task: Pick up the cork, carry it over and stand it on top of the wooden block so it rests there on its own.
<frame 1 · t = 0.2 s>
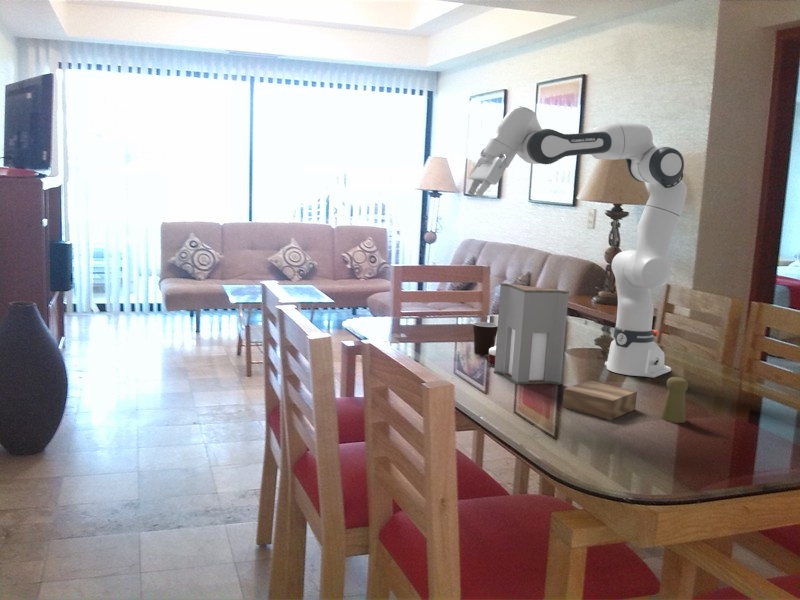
hand: (474, 194, 230), 54 cm above the table, tool tilted 30°, fingers open, 8 cm apart
wooden block: (598, 408, 204), on the table
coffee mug: (485, 352, 265), on the table
cabinet: (521, 381, 229), on the table
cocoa: (498, 365, 248), on the table
cork: (673, 419, 198), on the table
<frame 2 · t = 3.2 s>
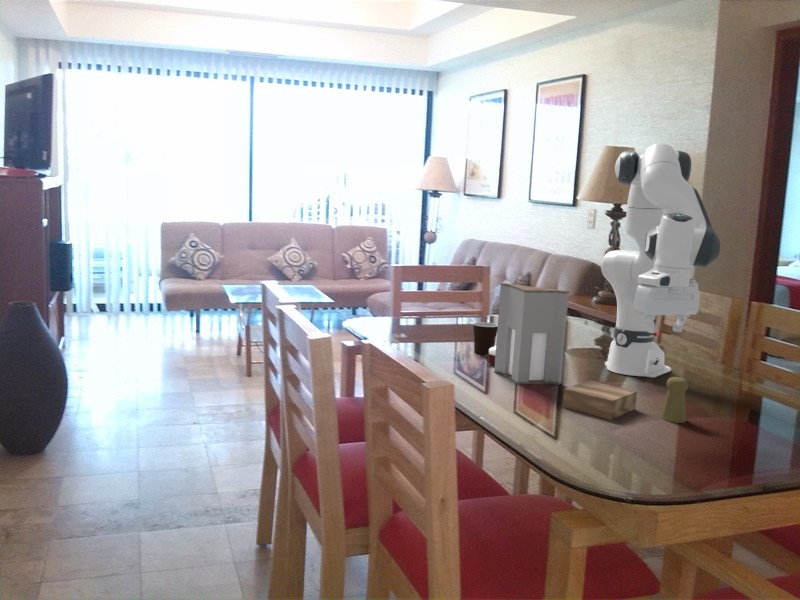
hand: (664, 332, 194), 23 cm above the table, tool pointing down, fingers open, 8 cm apart
nothing on the table moved.
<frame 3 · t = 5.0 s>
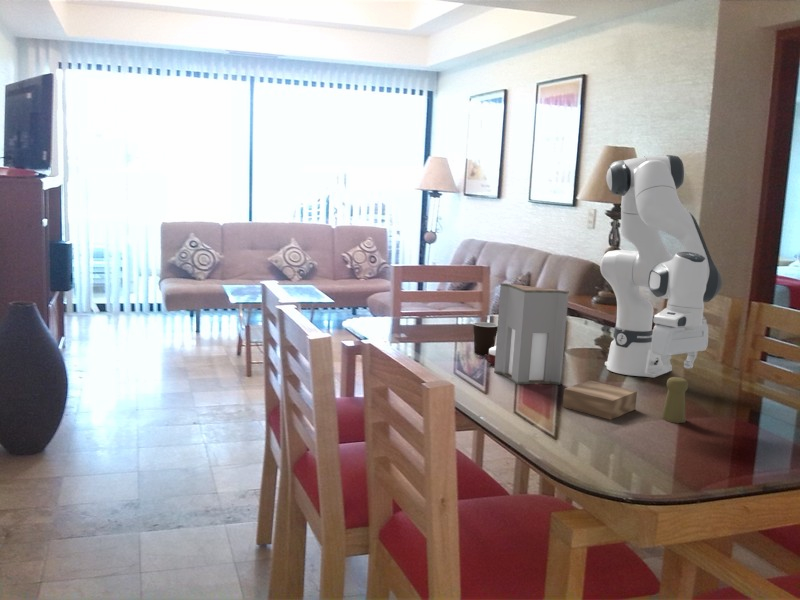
hand: (677, 369, 196), 13 cm above the table, tool pointing down, fingers open, 8 cm apart
nothing on the table moved.
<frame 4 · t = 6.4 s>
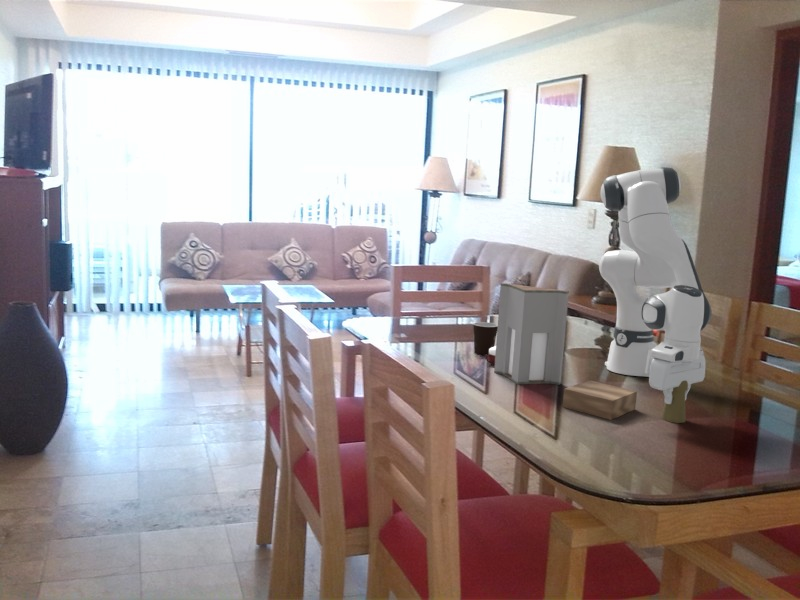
hand: (675, 401, 197), 5 cm above the table, tool pointing down, fingers closed on cork, 4 cm apart
cork: (673, 419, 198), on the table, touching gripper
everything else where it was.
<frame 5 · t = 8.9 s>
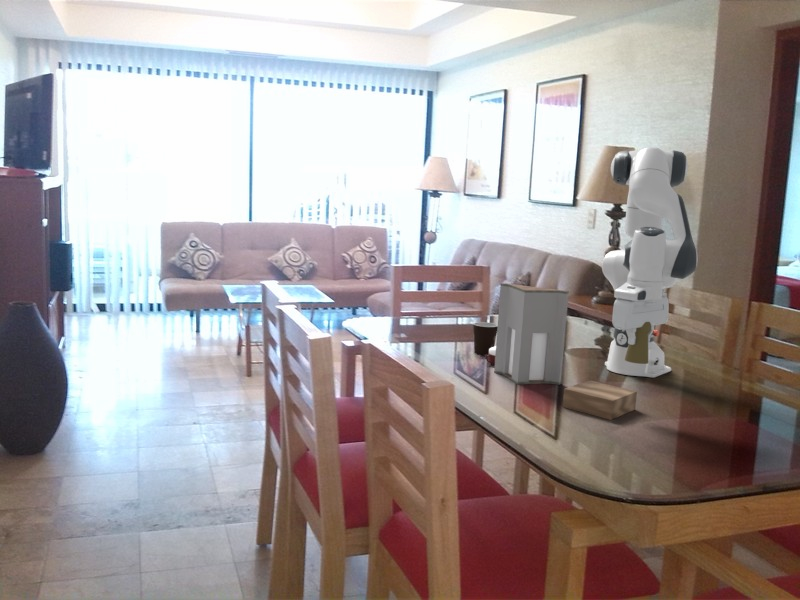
hand: (638, 343, 199), 19 cm above the table, tool pointing down, fingers closed on cork, 4 cm apart
cork: (636, 361, 199), point 14 cm above the table, touching gripper
everything else where it was.
when the fingers open (10 cm above the table, at t = 11.7 s): cork stays where it is, resting on wooden block.
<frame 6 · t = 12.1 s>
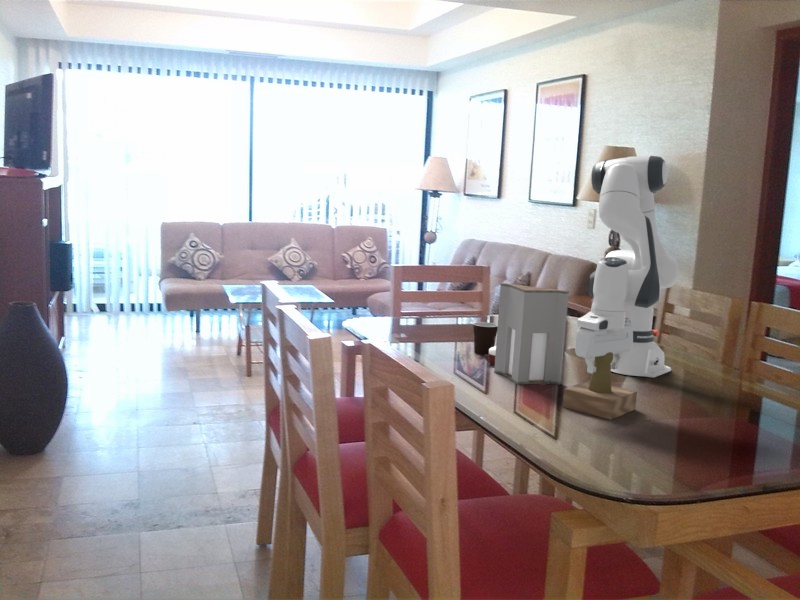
hand: (602, 370, 203), 10 cm above the table, tool pointing down, fingers open, 8 cm apart
cork: (599, 390, 203), point 5 cm above the table, touching wooden block
everything else where it was.
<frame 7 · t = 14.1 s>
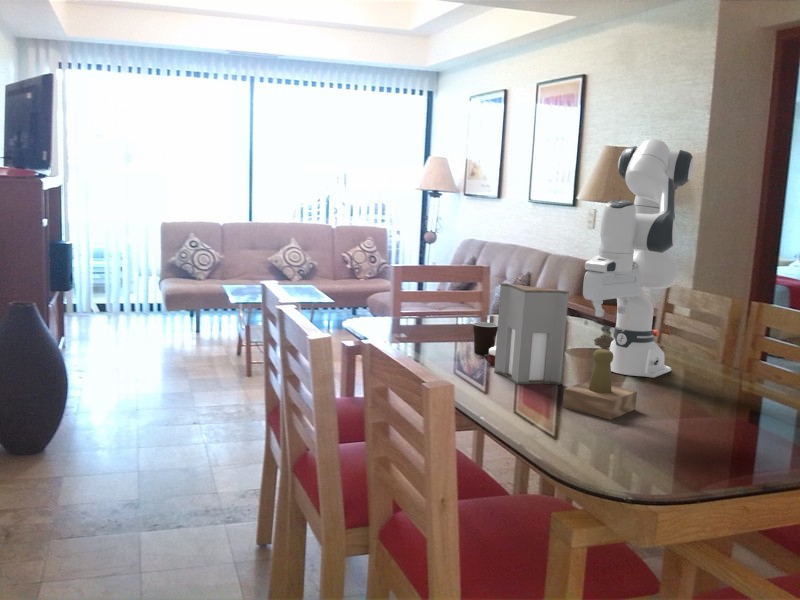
hand: (610, 314, 202), 25 cm above the table, tool pointing down, fingers open, 8 cm apart
nothing on the table moved.
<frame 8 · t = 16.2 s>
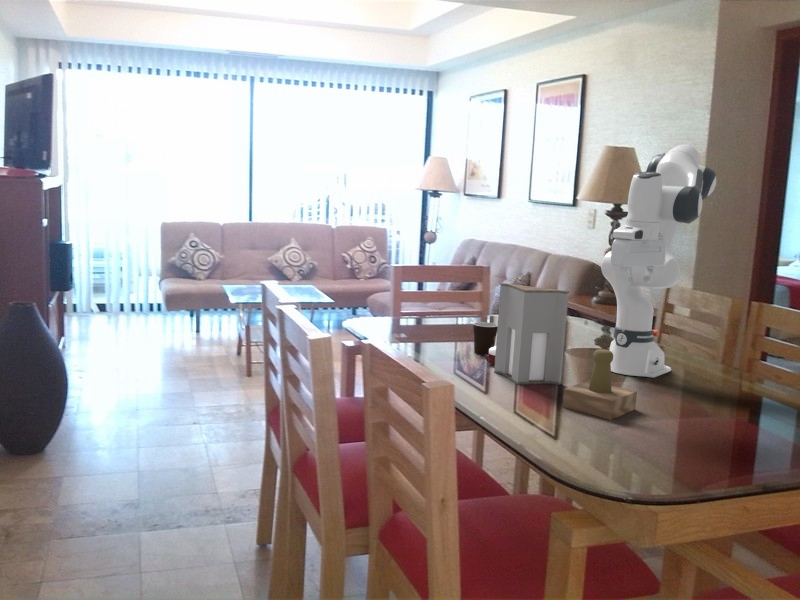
hand: (636, 282, 209), 33 cm above the table, tool pointing down, fingers open, 8 cm apart
nothing on the table moved.
at the end: cork inside the target area on the wooden block (0.3 cm from its centre), point 4.8 cm above the wooden block's base; cork tilted 0°; the gripper is holding nothing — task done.
